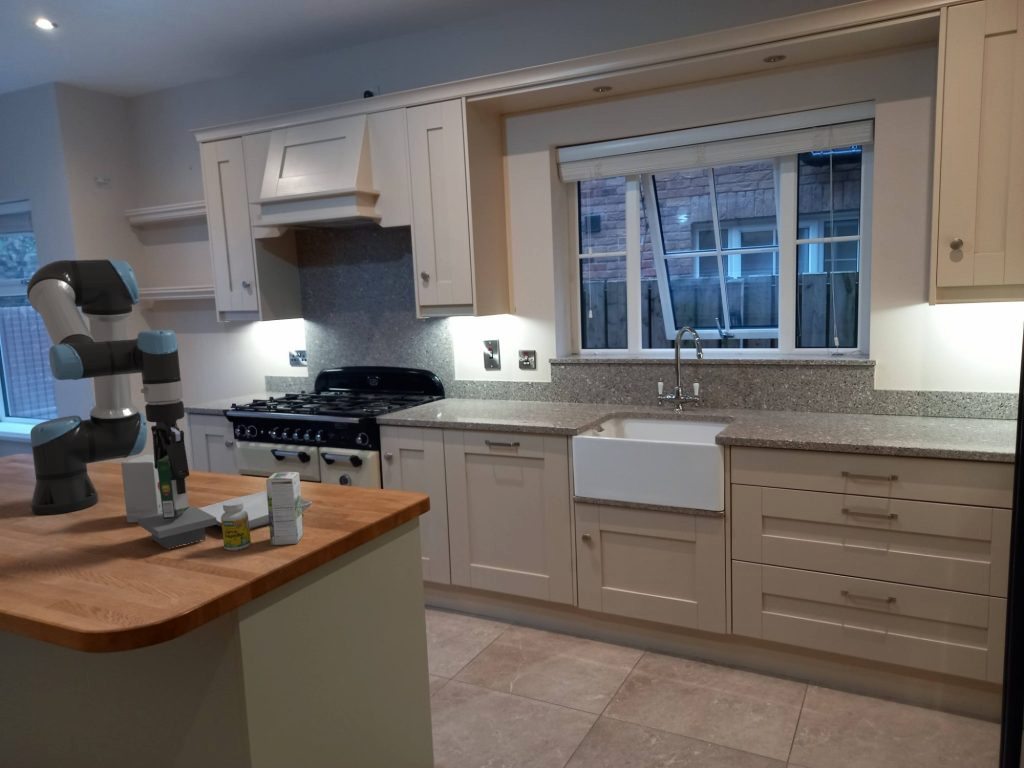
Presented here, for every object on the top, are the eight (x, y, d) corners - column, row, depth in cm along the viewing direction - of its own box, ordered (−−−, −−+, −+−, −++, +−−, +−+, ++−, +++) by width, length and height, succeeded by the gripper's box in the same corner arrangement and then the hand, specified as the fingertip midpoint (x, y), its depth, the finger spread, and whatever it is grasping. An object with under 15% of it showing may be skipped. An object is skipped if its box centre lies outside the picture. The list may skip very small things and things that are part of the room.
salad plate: (189, 522, 176) (187, 509, 175) (270, 501, 191) (269, 488, 191) (231, 540, 162) (230, 525, 161) (315, 515, 177) (314, 501, 177)
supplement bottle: (252, 541, 159) (248, 498, 158) (249, 549, 154) (245, 504, 153) (226, 544, 158) (221, 500, 157) (222, 552, 153) (217, 507, 151)
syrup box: (277, 537, 161) (271, 472, 159) (304, 535, 161) (299, 470, 159) (270, 546, 155) (264, 479, 153) (298, 544, 156) (292, 477, 154)
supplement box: (159, 523, 175) (152, 462, 173) (126, 523, 177) (119, 462, 175) (183, 512, 184) (177, 453, 182) (151, 511, 186) (145, 453, 184)
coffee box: (175, 519, 158) (169, 459, 156) (162, 520, 157) (155, 460, 156) (189, 508, 165) (183, 451, 164) (176, 509, 165) (170, 452, 164)
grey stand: (140, 540, 163) (137, 518, 163) (195, 526, 171) (193, 505, 171) (160, 554, 153) (158, 531, 152) (218, 539, 161) (216, 517, 160)
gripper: (131, 400, 163) (142, 500, 166) (161, 408, 148) (173, 517, 151) (166, 395, 168) (177, 492, 171) (199, 403, 153) (209, 509, 156)
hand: (175, 504), depth 161 cm, fingers closed on coffee box, 7 cm apart
